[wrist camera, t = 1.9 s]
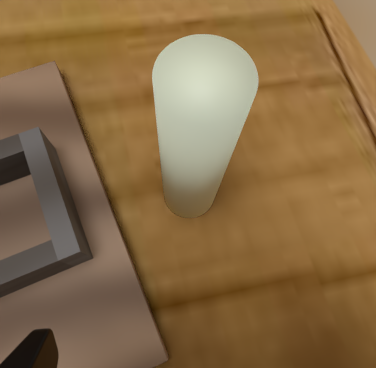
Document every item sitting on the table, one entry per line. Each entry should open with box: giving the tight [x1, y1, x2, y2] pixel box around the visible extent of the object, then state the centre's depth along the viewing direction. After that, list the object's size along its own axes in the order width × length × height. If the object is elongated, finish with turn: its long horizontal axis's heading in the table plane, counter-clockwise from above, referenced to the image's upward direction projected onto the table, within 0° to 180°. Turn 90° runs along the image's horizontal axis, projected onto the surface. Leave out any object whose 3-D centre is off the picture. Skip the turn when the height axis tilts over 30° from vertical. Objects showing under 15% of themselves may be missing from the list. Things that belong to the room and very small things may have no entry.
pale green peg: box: [152, 34, 258, 218], centre depth 17 cm, size 4×4×13 cm
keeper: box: [0, 61, 169, 368], centre depth 20 cm, size 22×12×4 cm, turn 24°
